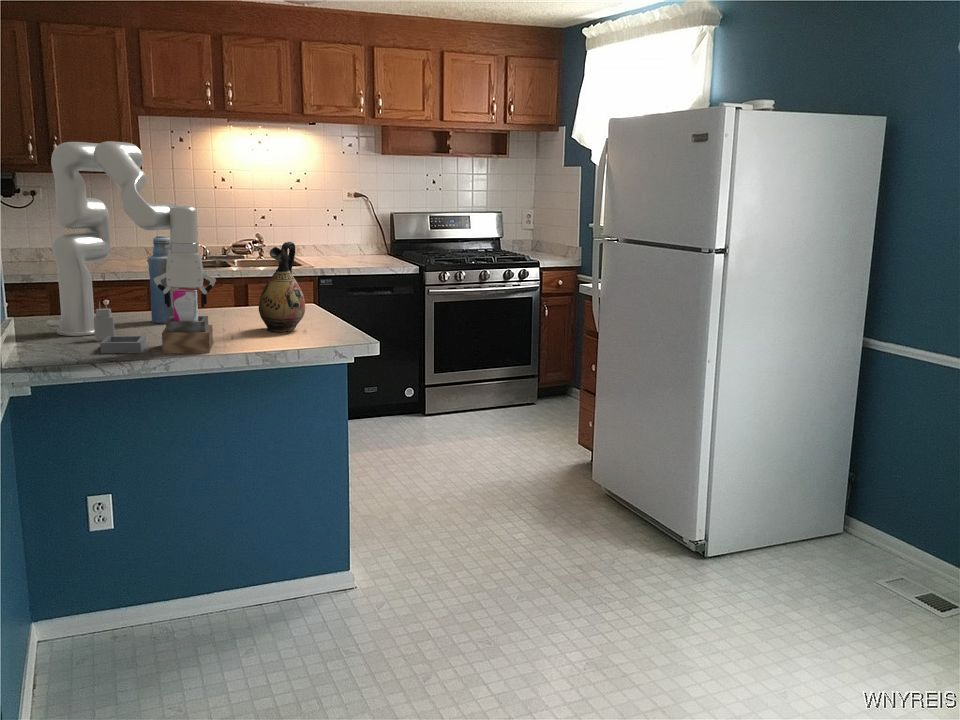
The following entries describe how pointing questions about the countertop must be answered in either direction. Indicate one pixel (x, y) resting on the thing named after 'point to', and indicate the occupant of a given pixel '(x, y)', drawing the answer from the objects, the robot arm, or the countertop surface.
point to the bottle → (156, 269)
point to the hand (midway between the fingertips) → (186, 306)
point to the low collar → (123, 344)
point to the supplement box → (185, 305)
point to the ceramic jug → (282, 294)
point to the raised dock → (187, 336)
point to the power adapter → (103, 324)
